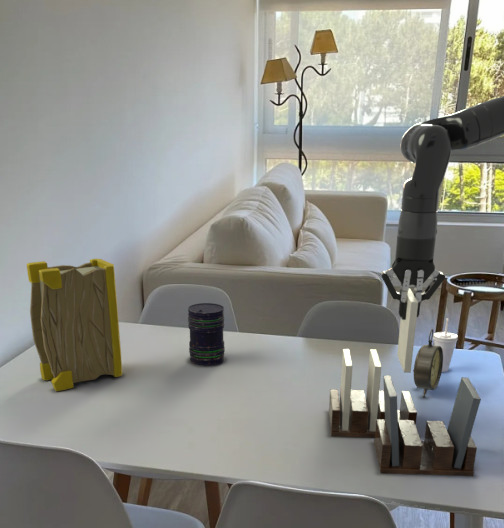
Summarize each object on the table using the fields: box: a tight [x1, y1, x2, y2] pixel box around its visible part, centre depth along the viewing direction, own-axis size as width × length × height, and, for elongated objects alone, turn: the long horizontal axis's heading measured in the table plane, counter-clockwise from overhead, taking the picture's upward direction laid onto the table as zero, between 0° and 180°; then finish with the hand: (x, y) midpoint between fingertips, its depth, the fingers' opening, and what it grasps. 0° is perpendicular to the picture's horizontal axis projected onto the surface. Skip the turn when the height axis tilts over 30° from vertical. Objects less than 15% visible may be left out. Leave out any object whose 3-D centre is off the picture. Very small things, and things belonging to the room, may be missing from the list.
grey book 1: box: [382, 374, 399, 467], centre depth 141 cm, size 1×11×15 cm, turn 176°
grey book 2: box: [446, 376, 482, 469], centre depth 140 cm, size 1×11×15 cm, turn 177°
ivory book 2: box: [365, 348, 382, 431], centre depth 155 cm, size 1×11×15 cm, turn 177°
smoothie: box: [432, 318, 459, 373], centre depth 188 cm, size 6×6×14 cm
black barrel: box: [187, 302, 226, 367], centre depth 194 cm, size 10×10×15 cm
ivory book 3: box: [396, 288, 418, 374], centre depth 149 cm, size 1×11×15 cm, turn 177°
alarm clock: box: [412, 328, 443, 399], centre depth 173 cm, size 11×5×16 cm, turn 151°
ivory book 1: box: [339, 348, 353, 431], centre depth 155 cm, size 1×11×15 cm, turn 177°
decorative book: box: [26, 258, 123, 392], centre depth 178 cm, size 20×11×30 cm, turn 124°
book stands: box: [328, 388, 478, 477], centre depth 150 cm, size 27×29×6 cm
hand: (408, 318), depth 148 cm, fingers closed on ivory book 3, 1 cm apart
